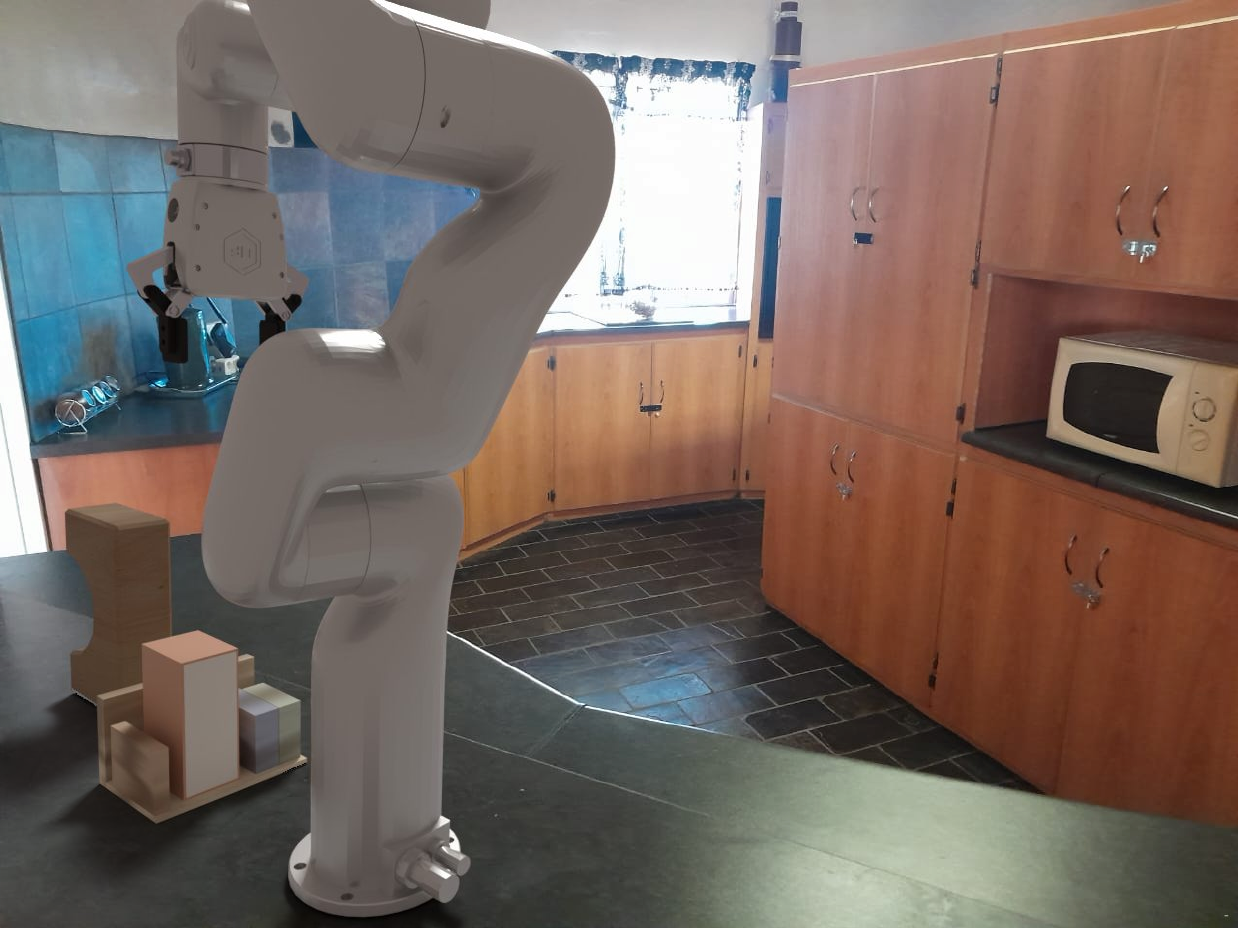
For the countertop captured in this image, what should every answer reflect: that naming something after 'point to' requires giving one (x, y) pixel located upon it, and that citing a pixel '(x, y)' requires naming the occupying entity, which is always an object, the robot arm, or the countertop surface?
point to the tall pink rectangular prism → (193, 709)
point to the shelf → (143, 762)
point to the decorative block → (119, 592)
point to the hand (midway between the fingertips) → (225, 362)
